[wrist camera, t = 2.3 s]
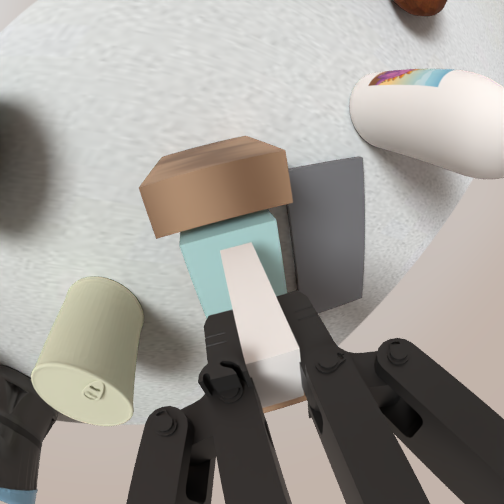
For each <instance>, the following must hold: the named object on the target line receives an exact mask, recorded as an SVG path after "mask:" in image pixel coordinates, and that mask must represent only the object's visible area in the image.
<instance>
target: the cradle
mask: <svg viewBox="0 0 504 504" xmlns="http://www.w3.org/2000/svg"><path fill="white" fill-rule="evenodd" d="M139 190H140V193H141V196H142V199H143V202H144V205H145V208H146V211H147V214H148V217H149V220H150V222H151V225H152V228H153V231H154V234H155V236H156V239H157V238H160V237H164V236H167V235H171V234H174V233H178V232H181V231H185V230H188V229H192V228H196V227H199V226H203V225H207V224H210V223H214V222H218V221H222V220H225V219H229V218H233V217H237V216H241V215H245V214H249V213H253V212H257V211H261V210H265V209H269V208H273V207H277V206H281V205H285V204H289V203H293V199H292V192H291V185H290V178H289V171H288V165H287V158H286V152H285V150H283V149H281V148H278V147H275V146H273V145H270V144H267V143H265V142H262V141H259V140H256V139H253V138H251V137H248V136H242V137H237V138H233V139H228V140H224V141H220V142H216V143H211V144H207V145H203V146H200V147H196V148H192V149H188V150H185V151H181V152H178V153H174V154H171V155H167V156H164V157H162V158H161V159H160V160H159V161H158V163H157V164H156V165H155V167H154V168H153V169H152V171H151V172H150V173H149V175H148V176H147V177H146V179H145V180H144V181H143V183H142V184H141V185H140V187H139ZM306 400H307V398H306V396H305V393H304V396H301V397H298V398H295V399H292V400H289V401H285V402H282V403H278V404H275V405H271V406H268V407H264V408H262V409H263V413H266V412H270V411H273V410H277V409H280V408H284V407H287V406H290V405H293V404H296V403H300V402H303V401H306Z"/></svg>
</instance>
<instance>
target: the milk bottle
mask: <svg viewBox="0 0 504 504" xmlns="http://www.w3.org/2000/svg"><path fill="white" fill-rule="evenodd" d="M349 108H350V115H351V119H352V122H353V124H354V127H355V128H356V130H357V131H358V133H359V134H360V136H361V137H362V138H363V139H364V140H365V141H366V142H368V143H369V144H371V145H373V146H375V147H378V148H381V149H385V150H388V151H392V152H395V153H399V154H402V155H405V156H408V157H411V158H415V159H418V160H421V161H424V162H427V163H430V164H433V165H436V166H438V167H441V168H444V169H447V170H450V171H453V172H456V173H459V174H462V175H465V176H469V177H473V178H478V179H499V178H504V87H503V86H501V85H500V84H498V83H497V82H495V81H493V80H491V79H489V78H487V77H485V76H482V75H480V74H477V73H473V72H469V71H463V70H451V69H410V70H395V71H384V72H376V73H371V74H368V75H365V76H364V77H362V78H361V79H360V80H359V81H358V82H357V83H356V85H355V86H354V88H353V90H352V92H351V96H350V103H349Z"/></svg>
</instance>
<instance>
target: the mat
mask: <svg viewBox="0 0 504 504" xmlns="http://www.w3.org/2000/svg"><path fill="white" fill-rule="evenodd" d="M288 171H289V178H290V185H291V192H292V199H293V203H289V204H287V210H288V217H289V224H290V231H291V239H292V247H293V254H294V262H295V271H296V279H297V288H298V291H300V292H301V293H303V294H304V295H306V296H307V297H308V298H309V300H310V302H311V303H312V305H313V308H315V310H316V312H317V313H320V312H323V311H326V310H329V309H332V308H335V307H338V306H341V305H343V304H346V303H349V302H352V301H354V300H357V299H360V298H362V290H363V274H364V250H365V195H364V171H363V158H362V157H353V158H346V159H340V160H334V161H328V162H322V163H317V164H311V165H306V166H301V167H296V168H291V169H288Z"/></svg>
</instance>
